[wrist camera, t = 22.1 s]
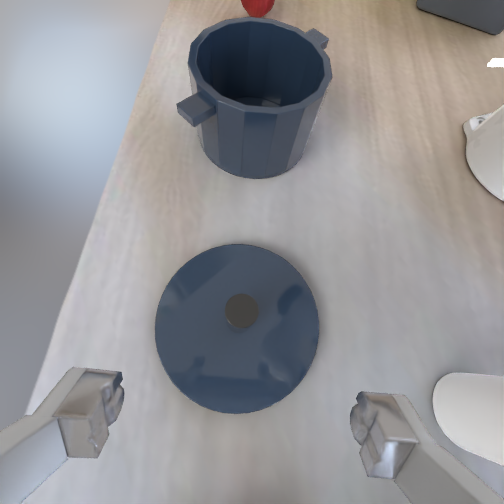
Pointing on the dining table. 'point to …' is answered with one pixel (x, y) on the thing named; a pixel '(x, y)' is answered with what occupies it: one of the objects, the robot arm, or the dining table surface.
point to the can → (472, 413)
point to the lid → (236, 329)
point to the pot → (256, 93)
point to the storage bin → (469, 12)
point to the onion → (257, 7)
